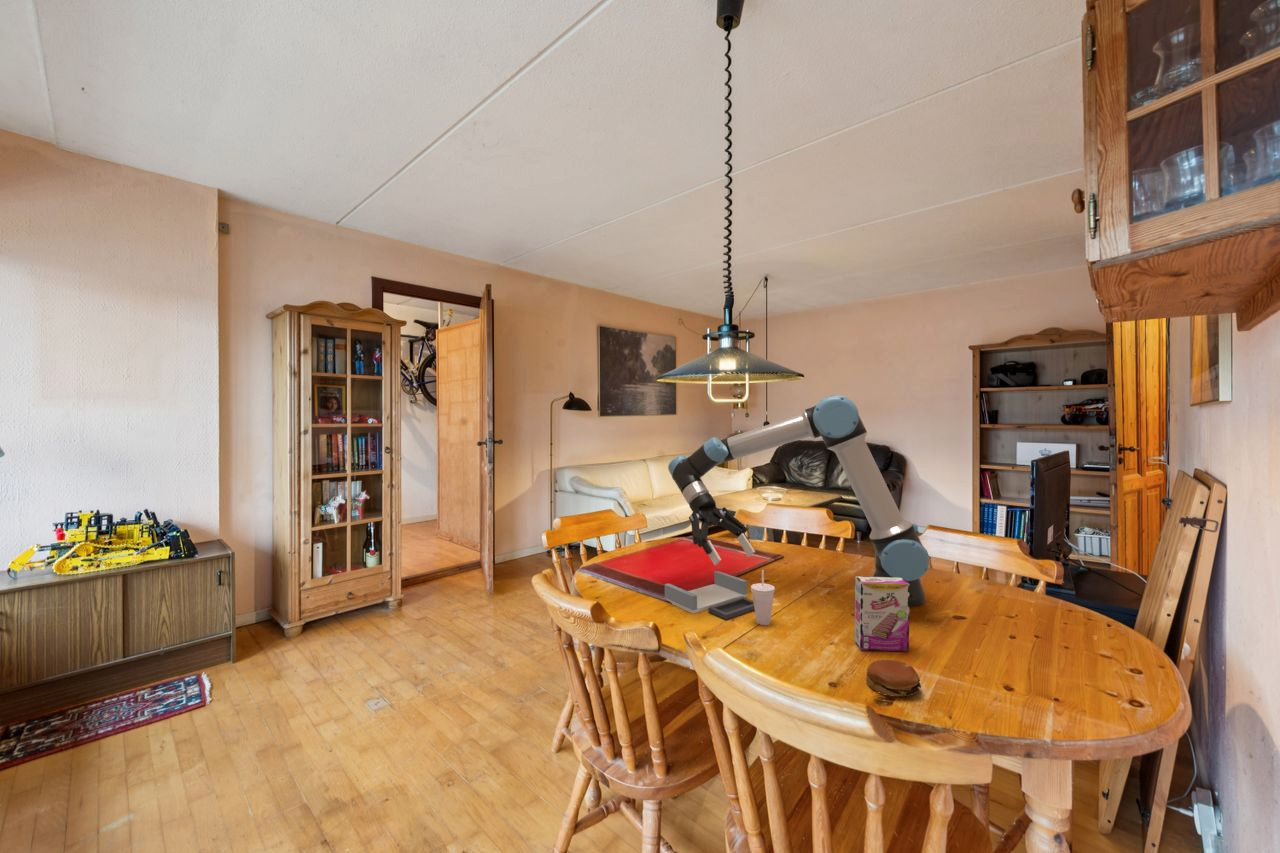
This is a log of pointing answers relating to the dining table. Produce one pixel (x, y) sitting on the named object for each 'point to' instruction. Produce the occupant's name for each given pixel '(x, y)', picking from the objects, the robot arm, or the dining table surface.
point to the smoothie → (763, 601)
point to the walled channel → (707, 593)
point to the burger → (892, 678)
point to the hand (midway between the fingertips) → (735, 558)
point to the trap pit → (732, 608)
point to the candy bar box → (882, 613)
